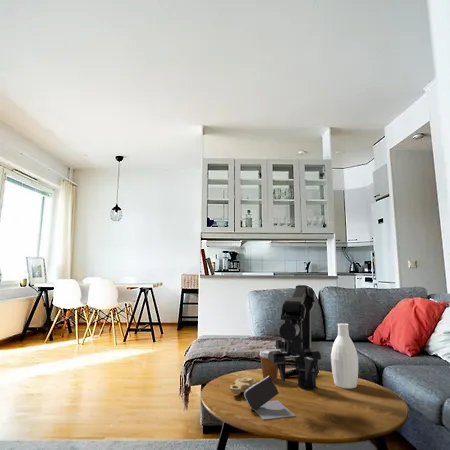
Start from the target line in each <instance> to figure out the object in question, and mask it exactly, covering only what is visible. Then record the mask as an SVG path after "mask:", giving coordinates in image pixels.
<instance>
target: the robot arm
mask: <svg viewBox="0 0 450 450" xmlns="http://www.w3.org/2000/svg"><path fill="white" fill-rule="evenodd" d="M316 302H317V294H316V292H315V290H314V289H312V288H310V287H309V286H308V285H307V284H297V285H295V290H294V291H293V294H292V296H291V297H288V298H286V299H285V300H284V303H282V307H281V314H280V320H283V321H284V323H282V324H281V326H280V327H279V335H280V336H281V338H282V339H283V341H282V339H277V340H275V343H274V345H275V350H277V351H270V352H269V354H268V359H269V360H271V361H272V362H274V363H275V364H276V365H277V367H278V373H279V376H280V377H281V381H282V382H285V381H286V362H284V361H285V359H287V360H288V359H294V364H295V372H297V373H298V375H297V383H296V384H297V386H298V387H300V388H301V389H302V390H303V391H306V390H307V391H309V390H317V389H319V387H318V386H317V381H316V378H317V376H316V375H317V374H320V371H319V370H320V369H319V360H322V354H321V352H320V350H317V349H315V348H312V312H313V310H314V308H315V305H316V304H315V303H316Z"/></svg>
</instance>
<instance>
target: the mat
mask: <svg viewBox="0 0 450 450" xmlns="http://www.w3.org/2000/svg"><path fill="white" fill-rule="evenodd" d="M254 412H255V413H256V414H257V415H258V416H259V418H260V419H261V420H262V421H267V420H276V419H283V418H284V419H286V418H292V417H296V415H295V414H294V413H293V412H292V411H291V410H290V409H289V408H287V407H286V406H285V405H284V404H283V403H281V402H280V401H279V400H278V399H276V400H269V401H268V402H266V403H265V404H264V405H262V406H261V407H259V408H258V409H256V410H254Z"/></svg>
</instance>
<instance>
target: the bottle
mask: <svg viewBox="0 0 450 450" xmlns="http://www.w3.org/2000/svg"><path fill="white" fill-rule="evenodd" d="M358 357H359V355H358V352H357V349H356V346H355V344H354V342H353V340H352V338H351V337H350V332H349V323H345V322H341V323H340V322H339V323H337V336H336V338H335V340H334V342H333V343H332V347H331V354H330V362H331V373H332V377H333V382H334V383H333V384H334V385H335V386H336V387H338V388H341V389H348V390H349V389H350V390H351V389H355V388H357V386H358V378H359V358H358Z"/></svg>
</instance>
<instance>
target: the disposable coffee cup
mask: <svg viewBox="0 0 450 450" xmlns="http://www.w3.org/2000/svg"><path fill="white" fill-rule="evenodd" d="M270 351H278V349H269V348H267V349H261V350H260V352H259V358H260V363H261V364H260V365H261V373H262V380H263V379H264V378H266V377H267V376H270V377H271V379H272V381H273V382H275V381H277V380H278V373H279V369H278V367H277V365H276V364H275V363H274V362H272V361H271V360H269V359H268V354H269V352H270Z"/></svg>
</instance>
